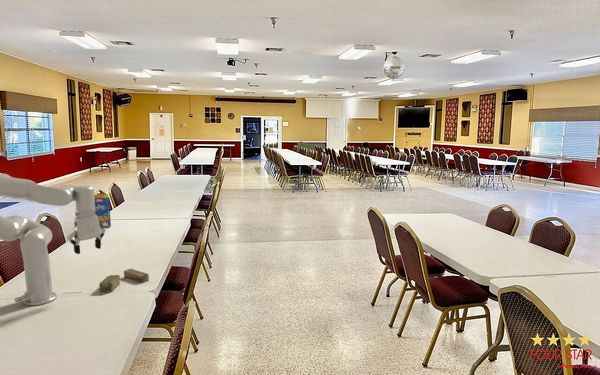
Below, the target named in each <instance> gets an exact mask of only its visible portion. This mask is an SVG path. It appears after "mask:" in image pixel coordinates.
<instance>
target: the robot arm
mask: <svg viewBox="0 0 600 375" xmlns="http://www.w3.org/2000/svg"><path fill="white" fill-rule="evenodd" d="M94 195H95V189H94V187H93V186H91V185H79V186H77V185H66V184H64V185H62V186H60V187H50V186H44V185H41V184H37V182H35V181H33V180H31V179H27V178H26V179H25V178H19V177H13V176H12V175H11V176H10V175H9V174H7V173H0V197H3V198H11V199H18V200H26V201H30V202H33V203H38V204H41V205H48V206H55V207H56V206H57V207H65V206H67V205H69V204H70V203H72V202H75V212H74V213H73V217H75V218H74V224H73V232H71V233H70V234H69V235H67V236H66V239H67V240H68V241H69V243H70V244H71V245H73V252H74V253H75V254H76V255H77V254H78V255H80V254H81V246H80V245H79V244H80V243H81V242H82V241H87V240H93V239H95V240H94V246H95V248H96V249H101V247H102V242H101V241H102V239H103V237H104V236H105V233H106V229H107V228H100V225H99V220H98V217H97V215H95V200H94ZM73 238H74V239H73ZM17 239H20V245H19V246H20V252H21V256H22V261H23V268H24V269H23V270H24V279H25V285H26V286H25V288H26V291H24V292H23V294H22V295H21V296H17V297H15V298H14V299H13V300H14V302H15V303H19V302H21V303H23V304H24V305H25V306H40V305H45V304H47V303H50V302H52V301H54V300H56V298H57V297H58V294H57V292H53V283H52V273H51V272H52V271H51V265H50V264H51V263H50V256H49V251H48V245H49V243H50V242H51V241H52V239H53V232H52V230H51V229H50V228H49V227H47V226H45V225H44V224H41V223H39V222H37V221H34V220H32V219H29V218H27V217H24V216H22V215H16V214H15V215H10V216H8V217H5V216H2V215H0V240H1V241H6V242H12V241H15V240H17Z"/></svg>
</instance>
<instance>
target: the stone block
mask: <svg viewBox="0 0 600 375" xmlns="http://www.w3.org/2000/svg"><path fill="white" fill-rule="evenodd" d="M120 277H121V276H120V275H119V274H114V275H113V274H110V275H108V276H105V278H104V279H102V281H100V282H99V286H98V287H99V292H100V293H103V294H105V293H109V292H110V293H111V292H114V290H115V289H117V287H118V286H119V285H120V282H121V281H120Z"/></svg>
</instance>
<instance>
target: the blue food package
mask: <svg viewBox="0 0 600 375" xmlns="http://www.w3.org/2000/svg"><path fill="white" fill-rule="evenodd" d="M94 200H95V215H97V217H98V220H99V225H100V228H103V229H110V228H111V226H112V221H111V208H110V207H111V206H110V205H111V204H110V198H109V194H108V193H105V194H94Z"/></svg>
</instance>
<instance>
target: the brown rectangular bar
mask: <svg viewBox="0 0 600 375" xmlns="http://www.w3.org/2000/svg"><path fill="white" fill-rule="evenodd" d="M123 278H125V279H128V280H132V281H134V282H137V283H140V284H143V283H146V282H149V281H150V280H149V279H150V277H149V273H146V272H143V271H140V270H137V269H133V268H128V269H125V270H123Z"/></svg>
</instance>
